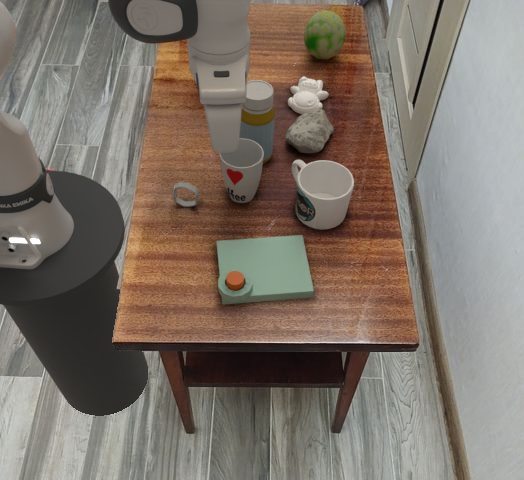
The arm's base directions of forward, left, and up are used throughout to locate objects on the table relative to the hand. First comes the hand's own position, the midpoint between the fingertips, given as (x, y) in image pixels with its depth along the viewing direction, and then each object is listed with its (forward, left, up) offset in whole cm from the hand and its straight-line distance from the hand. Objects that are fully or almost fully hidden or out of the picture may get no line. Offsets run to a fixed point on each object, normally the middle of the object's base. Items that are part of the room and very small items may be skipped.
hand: (222, 138), depth 90 cm
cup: (+4, +6, -18) cm, 20 cm away
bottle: (+8, +17, -18) cm, 26 cm away
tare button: (0, -19, -15) cm, 24 cm away
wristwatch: (-7, +4, -18) cm, 20 cm away
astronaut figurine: (+22, +35, -18) cm, 45 cm away
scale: (+6, -14, -18) cm, 24 cm away
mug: (+18, +1, -18) cm, 25 cm away
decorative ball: (+28, +51, -18) cm, 61 cm away
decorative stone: (+20, +21, -18) cm, 34 cm away
